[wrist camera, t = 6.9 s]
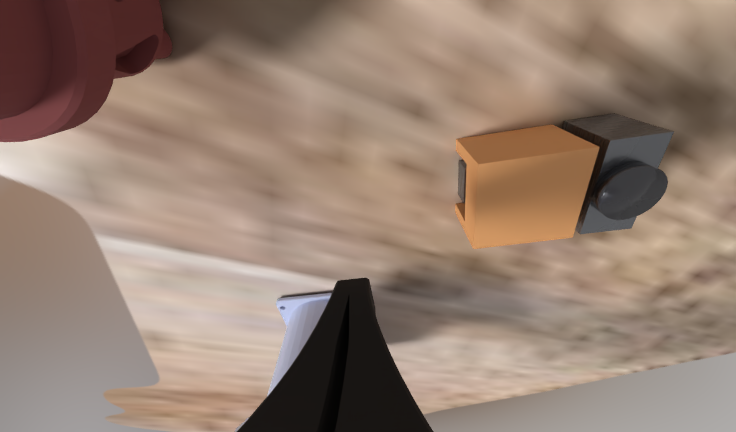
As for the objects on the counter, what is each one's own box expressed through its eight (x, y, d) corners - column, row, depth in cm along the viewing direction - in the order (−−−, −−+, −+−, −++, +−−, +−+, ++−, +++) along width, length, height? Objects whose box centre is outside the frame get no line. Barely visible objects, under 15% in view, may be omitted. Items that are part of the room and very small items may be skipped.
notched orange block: (536, 202, 21) (572, 237, 17) (455, 212, 21) (473, 249, 18) (551, 124, 18) (599, 146, 14) (456, 138, 18) (478, 164, 15)
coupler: (589, 196, 20) (643, 235, 16) (457, 213, 21) (478, 254, 17) (616, 113, 17) (691, 136, 13) (459, 136, 18) (485, 164, 14)
